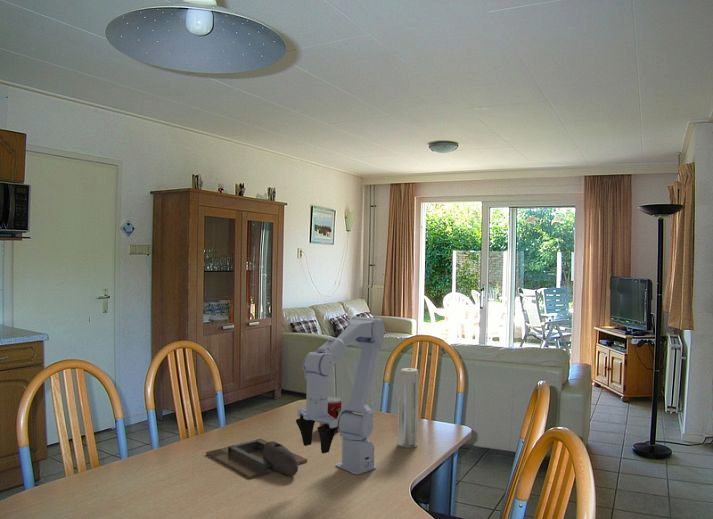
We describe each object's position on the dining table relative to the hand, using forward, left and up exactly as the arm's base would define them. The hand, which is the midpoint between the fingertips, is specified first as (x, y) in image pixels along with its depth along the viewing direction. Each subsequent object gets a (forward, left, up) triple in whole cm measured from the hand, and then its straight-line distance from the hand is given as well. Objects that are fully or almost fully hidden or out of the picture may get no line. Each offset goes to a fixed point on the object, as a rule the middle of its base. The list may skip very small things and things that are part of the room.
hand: (316, 448), depth 149 cm
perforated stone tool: (+15, 0, -11) cm, 19 cm away
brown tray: (+29, 0, -10) cm, 31 cm away
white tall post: (+8, -45, -11) cm, 47 cm away
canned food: (+36, -36, -11) cm, 52 cm away
